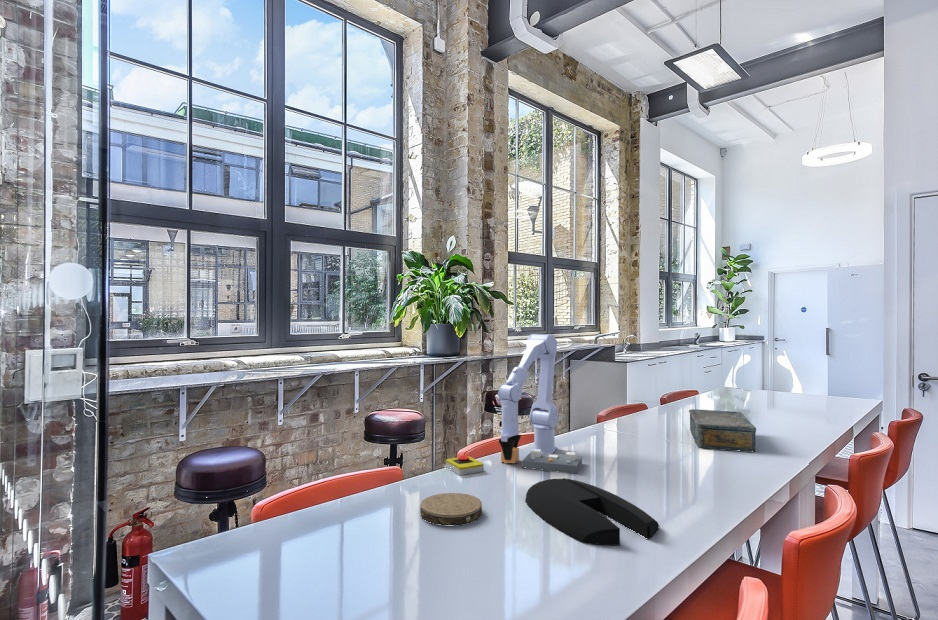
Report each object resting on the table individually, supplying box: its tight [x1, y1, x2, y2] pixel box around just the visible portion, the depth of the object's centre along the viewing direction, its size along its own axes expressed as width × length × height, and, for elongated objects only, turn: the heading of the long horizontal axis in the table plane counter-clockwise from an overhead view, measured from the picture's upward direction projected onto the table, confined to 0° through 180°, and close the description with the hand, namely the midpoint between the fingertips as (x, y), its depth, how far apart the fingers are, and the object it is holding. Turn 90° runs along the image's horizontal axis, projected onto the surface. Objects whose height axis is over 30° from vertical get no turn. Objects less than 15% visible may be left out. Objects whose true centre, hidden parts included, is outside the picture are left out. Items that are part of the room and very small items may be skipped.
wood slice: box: [419, 492, 483, 526], centre depth 135 cm, size 16×16×3 cm
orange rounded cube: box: [500, 447, 520, 464], centre depth 182 cm, size 5×5×4 cm
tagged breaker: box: [548, 455, 558, 460], centre depth 177 cm, size 3×3×3 cm
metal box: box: [688, 408, 757, 453], centre depth 210 cm, size 21×32×10 cm, turn 162°
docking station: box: [524, 478, 660, 546], centre depth 136 cm, size 25×40×5 cm, turn 22°
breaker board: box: [521, 448, 583, 474], centre depth 177 cm, size 12×18×4 cm, turn 69°
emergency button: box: [443, 455, 488, 479], centre depth 173 cm, size 9×4×15 cm
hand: (510, 457), depth 182 cm, fingers closed on orange rounded cube, 5 cm apart
